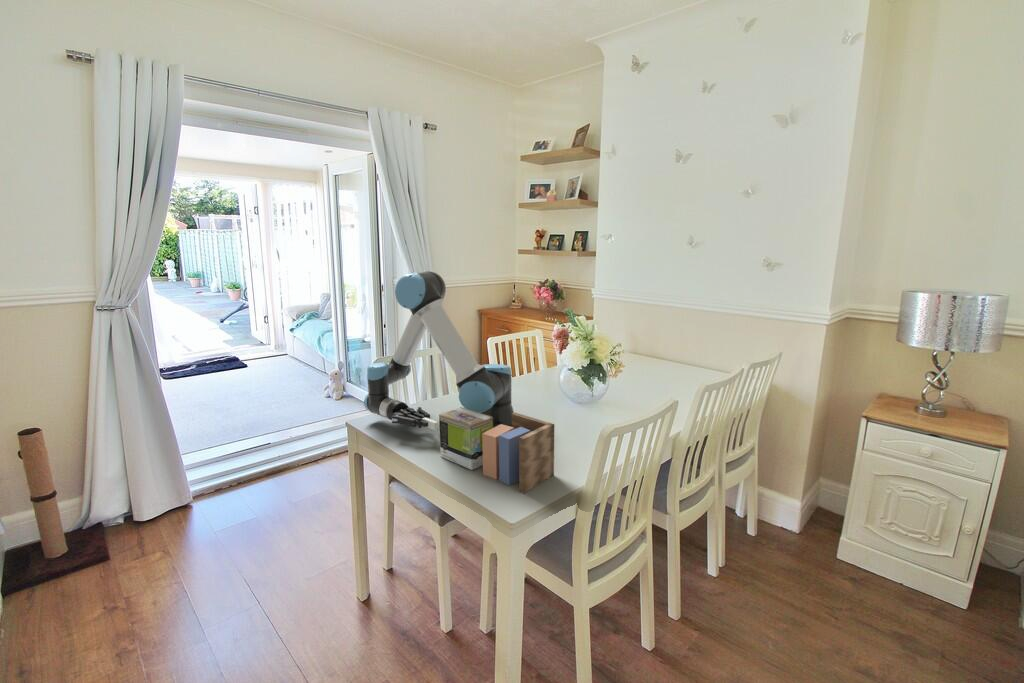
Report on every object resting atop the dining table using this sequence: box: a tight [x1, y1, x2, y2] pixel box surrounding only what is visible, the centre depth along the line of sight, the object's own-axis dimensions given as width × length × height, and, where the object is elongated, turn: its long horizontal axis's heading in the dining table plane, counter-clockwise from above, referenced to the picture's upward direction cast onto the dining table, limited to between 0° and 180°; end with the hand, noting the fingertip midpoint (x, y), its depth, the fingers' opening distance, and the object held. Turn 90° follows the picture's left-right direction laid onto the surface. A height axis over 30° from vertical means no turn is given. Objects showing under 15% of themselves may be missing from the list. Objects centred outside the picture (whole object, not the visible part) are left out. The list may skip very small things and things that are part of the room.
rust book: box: [482, 424, 514, 480], centre depth 142 cm, size 9×5×13 cm, turn 144°
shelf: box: [512, 412, 555, 494], centre depth 139 cm, size 14×15×16 cm
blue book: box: [498, 427, 531, 486], centre depth 138 cm, size 9×4×14 cm, turn 135°
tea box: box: [438, 406, 493, 471], centre depth 150 cm, size 15×10×15 cm
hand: (436, 426), depth 160 cm, fingers closed
